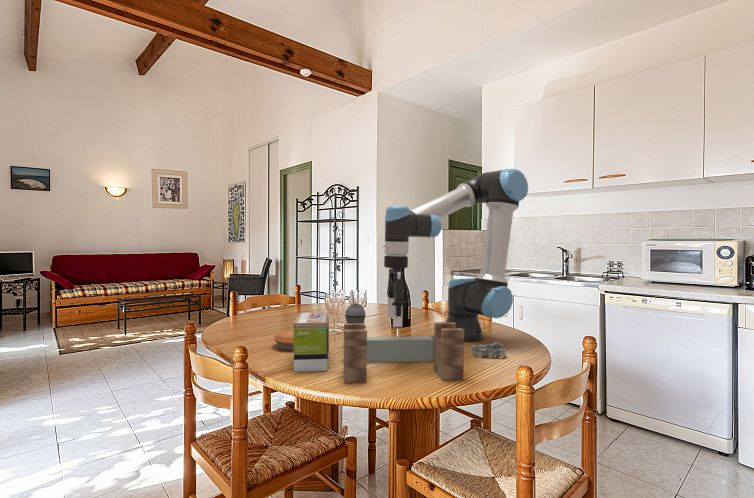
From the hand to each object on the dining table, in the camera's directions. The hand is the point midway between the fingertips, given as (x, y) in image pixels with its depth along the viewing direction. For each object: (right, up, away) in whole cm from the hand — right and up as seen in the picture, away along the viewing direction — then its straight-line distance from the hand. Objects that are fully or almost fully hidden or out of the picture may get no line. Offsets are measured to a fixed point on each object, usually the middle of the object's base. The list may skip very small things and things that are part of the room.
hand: (394, 322), depth 131 cm
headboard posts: (+2, -13, -13) cm, 19 cm away
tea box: (-26, -12, -4) cm, 29 cm away
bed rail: (0, -12, +1) cm, 12 cm away
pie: (-34, -12, +15) cm, 39 cm away
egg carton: (+32, -13, +7) cm, 35 cm away
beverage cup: (-13, -12, +14) cm, 23 cm away
